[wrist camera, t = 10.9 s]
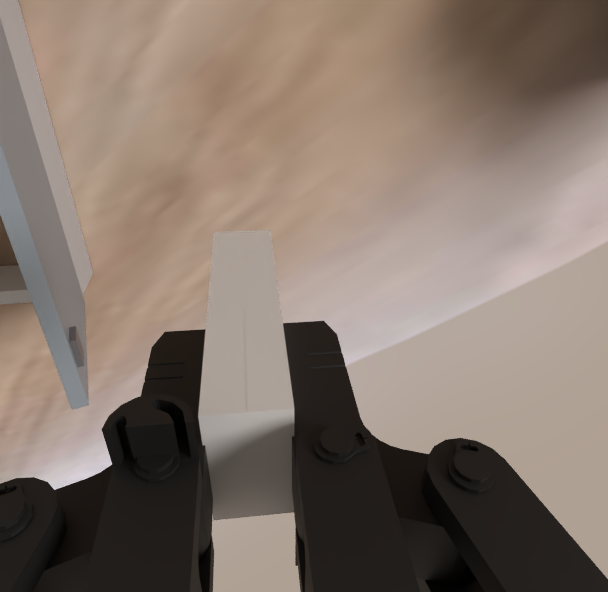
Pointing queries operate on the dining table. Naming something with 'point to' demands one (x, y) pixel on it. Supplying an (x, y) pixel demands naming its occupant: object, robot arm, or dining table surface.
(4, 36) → the cover
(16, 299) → the hinged pencil case
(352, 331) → the dining table surface
